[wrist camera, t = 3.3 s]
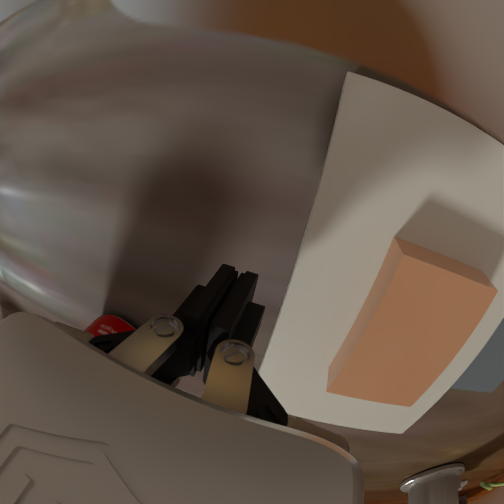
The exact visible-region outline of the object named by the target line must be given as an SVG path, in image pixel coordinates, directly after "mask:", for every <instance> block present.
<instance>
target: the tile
mask: <svg viewBox="0 0 504 504" xmlns="http://www.w3.org/2000/svg"><path fill="white" fill-rule="evenodd" d="M497 292H498V290H497V289H496V287H495V286H494V285H493V284H492V282H491V281H490V280H489V279H488V278H487V276H486V275H485V274H484V273H483V272H482V271H480V270H478V269H475V268H473V267H471V266H468V265H466V264H463V263H461V262H459V261H456V260H454V259H451V258H449V257H446V256H444V255H441V254H439V253H436V252H434V251H431V250H428V249H426V248H423V247H421V246H418V245H415V244H413V243H410V242H407V241H404V240H402V239H399V238H396V237H393V239H392V242H391V244H390V247H389V249H388V252H387V254H386V256H385V259H384V261H383V263H382V266H381V268H380V270H379V272H378V275H377V277H376V279H375V281H374V283H373V285H372V287H371V290H370V292H369V294H368V296H367V298H366V300H365V302H364V304H363V306H362V308H361V310H360V312H359V314H358V316H357V318H356V320H355V321H354V323H353V325H352V327H351V329H350V331H349V333H348V334H347V336H346V338H345V340H344V342H343V343H342V345H341V347H340V349H339V350H338V352H337V354H336V356H335V357H334V359H333V361H332V362H331V364H330V366H329V367H328V378H327V388H326V392H329V393H333V394H338V395H343V396H347V397H352V398H357V399H362V400H368V401H373V402H379V403H385V404H392V405H399V406H406V407H411V406H412V405H413V404H414V403H415V402H416V401H417V400H418V399H419V398H420V397H421V396H422V395H423V394H424V393H425V392H426V390H427V389H428V388H429V387H430V386H431V385H432V384H433V383H434V382H435V380H436V379H437V378H438V377H439V376H440V375H441V373H442V372H443V371H444V370H445V369H446V367H447V366H448V365H449V364H450V362H451V361H452V360H453V359H454V357H455V356H456V355H457V353H458V352H459V351H460V349H461V348H462V347H463V345H464V344H465V343H466V341H467V340H468V338H469V337H470V336H471V334H472V333H473V331H474V330H475V328H476V327H477V325H478V324H479V322H480V321H481V319H482V317H483V316H484V314H485V313H486V311H487V309H488V308H489V306H490V304H491V303H492V301H493V299H494V297H495V296H496V294H497Z"/></svg>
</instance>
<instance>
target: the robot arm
mask: <svg viewBox="0 0 504 504" xmlns="http://www.w3.org/2000/svg"><path fill="white" fill-rule="evenodd" d="M237 277H238V271H235V267H233V266H229V265H226V264H222V266H221V267H220V268H219V270H218V271H217V272H216V274H215V275H214V276H213V278H212V279H211V280H210V281H209V283H208V284H207V285H206V287H205V286H202V285H197V286H196V287H195V288H194V290H193V291H192V292H191V293H190V295H189V296H188V297H187V298H186V300H185V301H184V302H183V303H182V305H181V306H180V307H179V308H178V310H177V311H176V312H175V313H174V315H173V316H172V315H168V314H160V315H156V316H154V317H152V318H151V319H149V320H148V321H147V322H146V323H144V324H143V325H142V326H141V327H140V328H138V329H137V330H132V331H126V332H119V333H112V334H104V335H99V336H96V337H93V334H91V333H88V332H85V331H82V330H79V329H77V328H74V327H71V326H68V325H65V324H63V323H60V322H54V321H52V320H49V319H47V318H45V317H43V316H40V315H37V314H33V313H29V312H16V313H13V314H11V315H9V316H7V317H6V318H4V319H3V320H2V321H0V504H363V503H364V480H363V473H362V469H361V467H360V465H359V463H358V462H357V460H356V459H355V458H354V457H353V456H352V455H350V454H349V450H350V447H349V444H348V442H347V440H346V439H345V438H344V437H342V436H340V435H338V434H336V433H333V432H331V431H328V430H326V429H323V428H321V427H319V426H316V425H314V424H312V423H309V422H307V421H305V420H303V419H301V418H298V417H297V418H296V419H295V418H293V417H290V416H288V414H287V413H286V411H285V409H284V408H283V406H282V405H281V404H280V402H279V401H278V400H277V398H276V397H275V396H274V394H273V393H272V391H271V390H270V389H269V387H268V386H267V385H266V383H265V382H264V380H263V379H262V378H261V376H260V375H259V373H258V372H257V371H256V369H255V368H254V359H255V356H254V351H253V349H252V346H253V343H254V340H255V338H256V335H257V332H258V329H259V326H260V323H261V320H262V317H263V314H264V310H265V306H262V305H259V304H256V303H253V302H252V299H253V296H254V292H255V288H256V284H257V280H258V274H255V273H252V272H249V271H246V273H245V274H244V273H241V274H240V276H239V277H238V279H237ZM204 365H205V366H204ZM203 367H204V376H203V382H204V384H205V387H204V391H203V394H202V398H198V397H196V396H193V395H191V394H188V393H186V392H184V391H181V390H179V389H177V388H175V387H176V386H177V385H178V383H179V382H180V380H181V378H182V376H187V375H191V376H193V377H194V375H195V373H196V371H200V372H201V371H202V369H203ZM464 470H465V468H464V464H461V463H454V464H448V465H444V466H440V467H437V468H433V469H430V470H427V471H425V472H422V473H419V474H417V475H415V476H412V477H410V478H408V479H407V480H405V481H404V482H403V483H402V484H401V485H400V490H401V491H403V492H408V504H459V498H458V491H459V490H461V489H462V488H463V485H466V484H467V482H468V480H467V479H464V480H461V479H460V475H461V474H462V473H463V472H464Z"/></svg>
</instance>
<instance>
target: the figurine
mask: <svg viewBox="0 0 504 504" xmlns="http://www.w3.org/2000/svg"><path fill="white" fill-rule="evenodd" d="M480 485H481V487H483V488H485V489H488V490H491V489H492V488H493V486H502V485H504V482H498V483H492V482H486V483H484V482H483V481H482V482H480Z"/></svg>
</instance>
